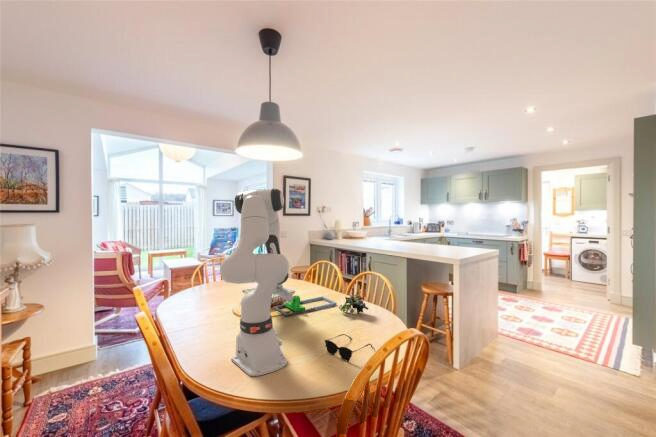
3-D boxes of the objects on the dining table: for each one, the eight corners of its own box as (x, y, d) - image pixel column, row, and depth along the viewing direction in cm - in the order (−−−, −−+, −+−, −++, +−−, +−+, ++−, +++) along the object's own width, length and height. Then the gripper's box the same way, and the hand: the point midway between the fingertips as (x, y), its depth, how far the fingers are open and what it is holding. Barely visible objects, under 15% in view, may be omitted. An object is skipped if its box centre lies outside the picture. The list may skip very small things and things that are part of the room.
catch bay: (336, 305, 163) (336, 302, 163) (314, 310, 155) (314, 307, 155) (322, 298, 176) (322, 296, 176) (301, 303, 168) (301, 300, 168)
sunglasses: (324, 351, 109) (324, 339, 110) (348, 340, 121) (349, 329, 122) (351, 364, 100) (352, 350, 100) (375, 350, 112) (376, 338, 112)
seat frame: (314, 310, 155) (314, 308, 155) (285, 317, 145) (285, 315, 145) (301, 302, 168) (301, 300, 168) (273, 308, 158) (273, 306, 158)
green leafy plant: (358, 323, 151) (373, 305, 149) (348, 327, 141) (364, 307, 139) (342, 306, 158) (356, 289, 155) (332, 309, 147) (346, 290, 145)
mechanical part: (305, 311, 154) (307, 296, 154) (295, 311, 150) (297, 296, 151) (294, 305, 163) (295, 291, 164) (285, 305, 160) (287, 292, 160)
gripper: (285, 285, 142) (302, 300, 148) (270, 277, 159) (286, 291, 165) (277, 295, 140) (295, 310, 146) (263, 286, 157) (279, 300, 163)
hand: (290, 300), depth 155 cm, fingers closed
